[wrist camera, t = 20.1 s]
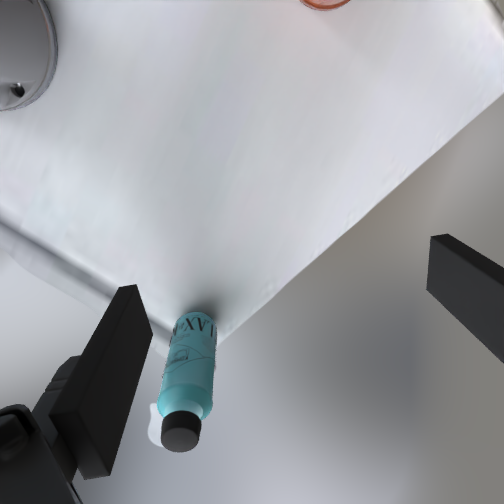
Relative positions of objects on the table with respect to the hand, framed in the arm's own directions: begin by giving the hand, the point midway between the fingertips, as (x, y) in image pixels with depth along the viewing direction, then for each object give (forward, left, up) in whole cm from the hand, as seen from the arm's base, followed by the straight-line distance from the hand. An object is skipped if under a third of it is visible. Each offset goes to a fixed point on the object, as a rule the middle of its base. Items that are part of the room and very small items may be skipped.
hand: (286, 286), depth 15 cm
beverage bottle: (-3, -25, -31) cm, 40 cm away
